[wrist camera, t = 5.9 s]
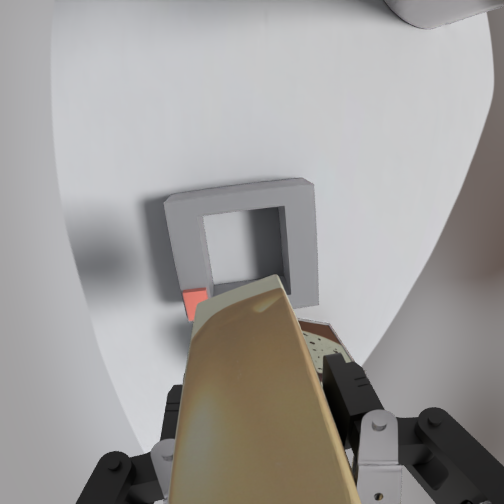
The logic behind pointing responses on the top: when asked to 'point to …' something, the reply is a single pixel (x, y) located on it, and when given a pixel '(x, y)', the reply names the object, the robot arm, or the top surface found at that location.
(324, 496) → the skincare box
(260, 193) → the socket block
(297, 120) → the top surface
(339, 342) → the food container
